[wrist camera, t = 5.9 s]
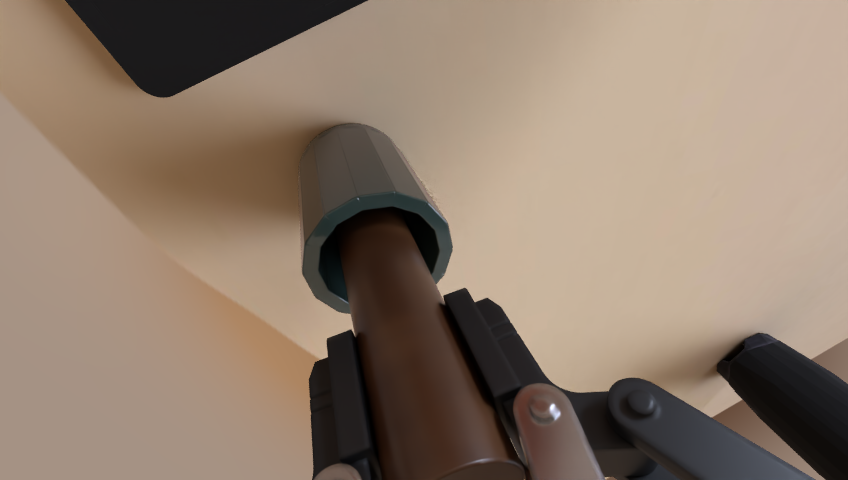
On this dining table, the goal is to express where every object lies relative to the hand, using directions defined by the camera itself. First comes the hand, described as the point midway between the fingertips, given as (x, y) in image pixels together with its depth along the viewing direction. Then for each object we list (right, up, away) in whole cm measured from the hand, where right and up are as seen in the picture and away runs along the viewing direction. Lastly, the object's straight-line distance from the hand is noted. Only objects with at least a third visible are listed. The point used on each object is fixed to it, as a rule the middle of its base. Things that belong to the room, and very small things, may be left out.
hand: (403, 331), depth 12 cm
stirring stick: (-3, +6, +9) cm, 11 cm away
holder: (-3, +6, +9) cm, 12 cm away
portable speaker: (+42, -12, +38) cm, 59 cm away
